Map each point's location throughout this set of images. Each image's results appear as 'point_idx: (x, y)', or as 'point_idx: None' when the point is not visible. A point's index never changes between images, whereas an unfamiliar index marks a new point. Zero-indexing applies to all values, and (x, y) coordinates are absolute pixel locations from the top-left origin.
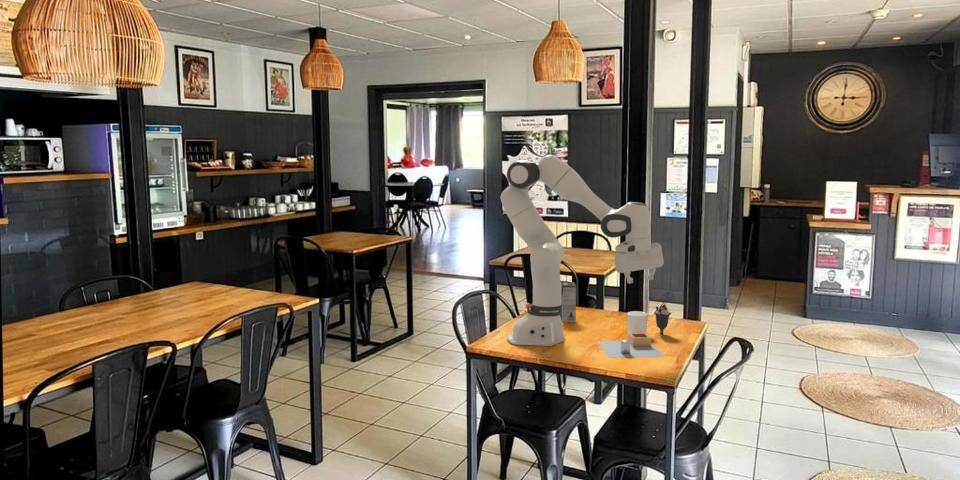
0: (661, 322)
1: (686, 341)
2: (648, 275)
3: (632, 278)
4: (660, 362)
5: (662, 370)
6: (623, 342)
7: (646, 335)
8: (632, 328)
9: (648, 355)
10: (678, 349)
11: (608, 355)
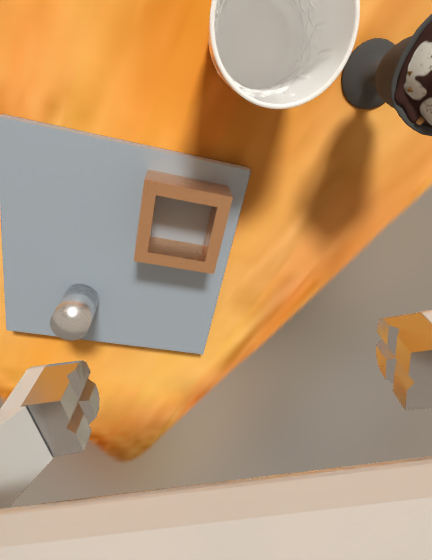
0: (391, 105)
1: (425, 166)
2: (409, 374)
3: (78, 447)
4: (179, 354)
5: (151, 405)
6: (56, 332)
7: (212, 236)
8: (217, 71)
9: (153, 336)
10: (318, 254)
11: (7, 311)
